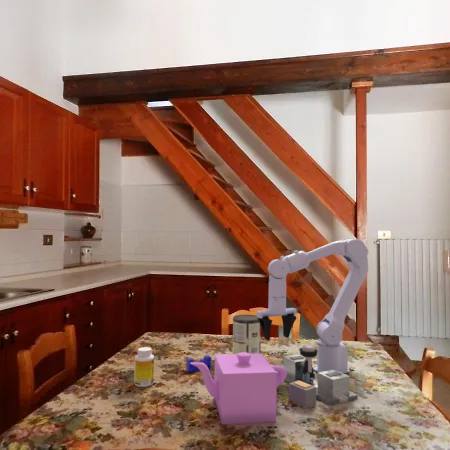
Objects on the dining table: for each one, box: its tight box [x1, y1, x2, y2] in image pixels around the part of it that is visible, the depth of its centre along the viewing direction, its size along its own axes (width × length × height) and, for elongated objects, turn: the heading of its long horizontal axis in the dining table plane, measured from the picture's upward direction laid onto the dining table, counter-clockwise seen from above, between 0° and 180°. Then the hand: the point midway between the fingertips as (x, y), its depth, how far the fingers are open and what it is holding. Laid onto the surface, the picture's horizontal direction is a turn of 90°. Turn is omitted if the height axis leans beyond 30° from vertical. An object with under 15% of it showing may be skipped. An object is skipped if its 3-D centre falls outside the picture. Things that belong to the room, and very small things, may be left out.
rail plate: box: [276, 353, 359, 406], centre depth 118 cm, size 10×24×6 cm, turn 28°
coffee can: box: [232, 314, 262, 354], centre depth 146 cm, size 10×10×14 cm
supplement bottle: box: [133, 346, 155, 388], centre depth 118 cm, size 6×6×10 cm
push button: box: [298, 344, 318, 383], centre depth 120 cm, size 7×5×10 cm
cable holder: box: [185, 354, 212, 374], centre depth 131 cm, size 8×4×4 cm, turn 122°
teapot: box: [190, 352, 287, 425], centre depth 102 cm, size 15×25×14 cm, turn 98°
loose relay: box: [288, 380, 317, 409], centre depth 107 cm, size 4×6×5 cm, turn 39°
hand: (276, 338), depth 131 cm, fingers open, 7 cm apart
